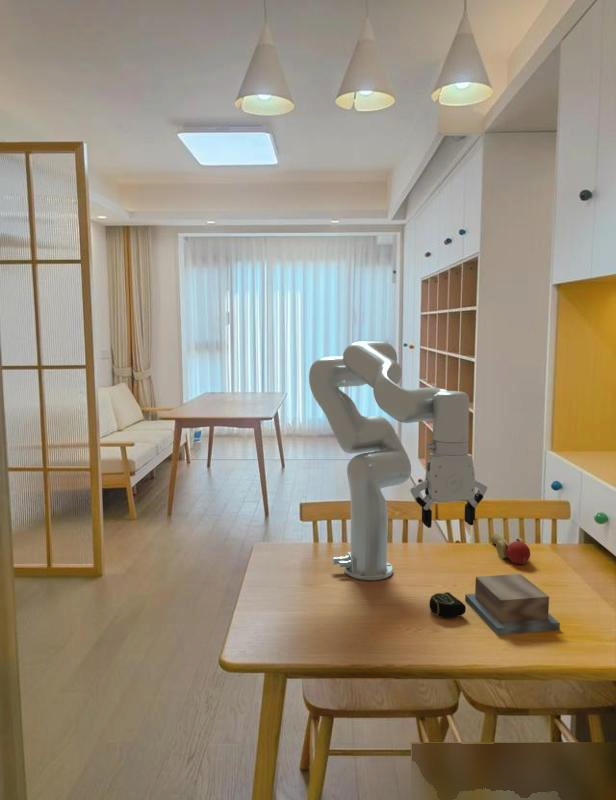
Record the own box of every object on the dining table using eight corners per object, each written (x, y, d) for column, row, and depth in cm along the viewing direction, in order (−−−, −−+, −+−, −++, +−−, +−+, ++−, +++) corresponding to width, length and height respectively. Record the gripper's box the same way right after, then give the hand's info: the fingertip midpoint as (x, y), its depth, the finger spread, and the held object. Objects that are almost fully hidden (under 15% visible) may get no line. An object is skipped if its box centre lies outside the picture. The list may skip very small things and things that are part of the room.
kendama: (480, 548, 174) (507, 564, 156) (483, 527, 174) (511, 540, 156) (505, 552, 175) (535, 568, 157) (508, 531, 175) (538, 544, 157)
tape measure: (466, 618, 129) (467, 602, 128) (439, 623, 127) (439, 607, 126) (450, 605, 135) (450, 589, 135) (423, 609, 133) (424, 593, 133)
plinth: (497, 635, 122) (498, 605, 121) (465, 600, 137) (465, 573, 137) (559, 629, 124) (561, 600, 123) (520, 596, 140) (521, 569, 139)
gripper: (418, 453, 122) (416, 532, 124) (495, 450, 125) (493, 528, 127) (406, 446, 129) (404, 521, 131) (479, 443, 132) (477, 517, 134)
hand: (448, 524), depth 129 cm, fingers open, 9 cm apart
